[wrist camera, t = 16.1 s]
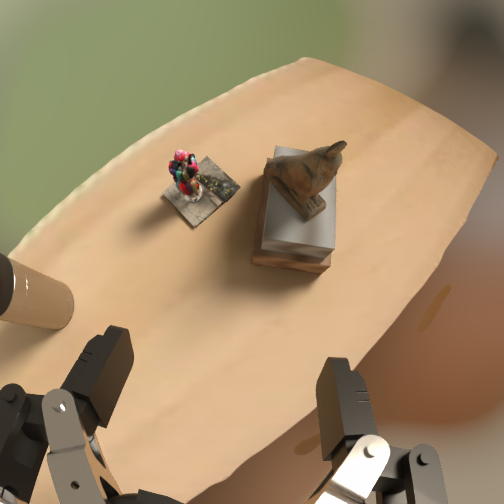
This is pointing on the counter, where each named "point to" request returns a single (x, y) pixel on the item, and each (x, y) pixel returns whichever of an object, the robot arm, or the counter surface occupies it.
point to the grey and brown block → (294, 229)
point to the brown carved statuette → (305, 177)
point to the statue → (198, 187)
